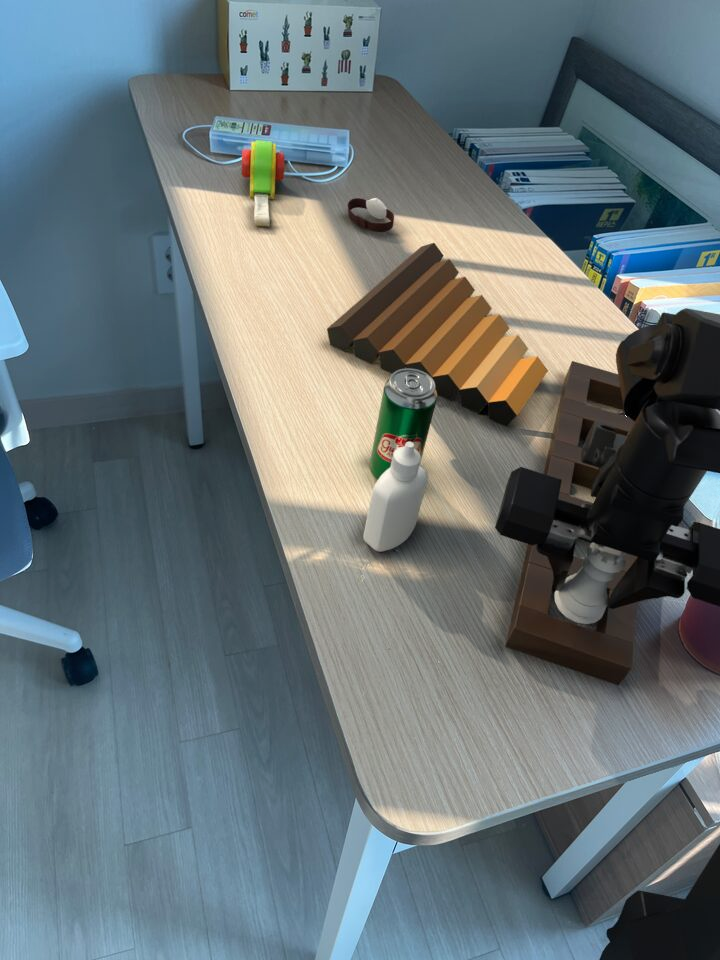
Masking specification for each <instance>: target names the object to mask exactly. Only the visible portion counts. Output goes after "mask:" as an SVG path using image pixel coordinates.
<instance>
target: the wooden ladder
mask: <svg viewBox="0 0 720 960" xmlns="http://www.w3.org/2000/svg"><path fill="white" fill-rule="evenodd" d="M568 367H569V368H568V369H567V372H566V375H565V377H564V380H563V384H562V388H561V393H560V396H559V397H560V398H559V402H558V407H557V411H556V415H555V420H554V425H553V429H552V434H551V438H550V443H549V448H548V451H547V456H546V461H545V466H544V470H543V474H546V475H549V476H552V477H555V478H558V479H562V481H561V486H560V491H559V497H558V499H559V500H562V501H566V502H569V503H572V504H575V505H578V506H582V504H583V503H587V504H590V505H592V504H593V502H592V501H588V500H585V499H581V498H579V497H577V496H572V495H570V493H571V487H572V485H575V486H579V487H582V488H585V489H588V490H591V491H592V485H593V483H594V481H595V480H596V478H597V476H598V474H599V472H600V470H599V468H598V467H595V466H592V465H588V464H585V463H582V461H581V451H582V448H583V447H579V443H580V440H583V441H585V440H586V437H587V435H588V433H589V431H590V429H591V427H592V425H593V423H594V422H598V423H601V424H605V425H608V426H611V427H614V428H615V433H616V434H621V435H625V436H628V435H629V433H630V431H631V429H632V427H633V425H634V423H635V421H633V420H632V419H630V417H628V416H627V417H626V416H625V412H624V407H623V401H622V395H621V389H620V383H619V377H618V373H616V372H612V371H609V370H606V369H605V370H604V369H602V368H598V367H595V366H592V365H588V364H584V363H580V362H577V361H574V360H572V361H571V362H570V365H569V366H568ZM587 401H591V402H594V403H598V404H601V405H604V406H608V407H611V408H615V409H618V410H622V414H619V413H615V412H612V411H609V410H606V409H602V408H598V407H596V406H595V407H594V406H592V405H589V404H587ZM576 540H580V541H582V542H586V543H589V544H591V543H592V542H590V541H591V540H588V539H584V538H581V537H578V538H577V539H576ZM536 545H537V544H536ZM536 545H529V544H527V547H526V551H525V555H524V560H523V564H522V569H521V573H520V576H519V577H520V578H519V583H518V587H517V591H516V596H515V601H514V604H513V609H512V613H511V618H510V624H509V626H508V632H507V637H506V641H505V648H508V649H511V650H514V651H517V652H519V653H522V654H526V655H529V656H532V657H534V658H538V659H540V660H543V661H546V662H549V663H552V664H555V665H558V666H560V667H564V668H566V669H569V670H572V671H575V672H578V673H581V674H584V675H586V676H588V677H593V678H595V679H597V680H601V681H604V682H607V683H610V684H613V685H616V686H620V685H621V683H622V682H623V681H624V680H625V679H626V677H627V676H628V674H629V673H630V672H631V670H632V669H633V660H634V647H635V636H636V625H637V611H638V602H636V603H632V604H629V605H625V606H622V607H618V608H615V609H611V608H608V604H607V607H606V609H605V611H604V613H603V616H602V618H601V619H599V620H598V621H596V625H595V626H596V627H595V630H594V629H591V628H587V627H585V626H582V625H580V624H579V625H578V624H577V623H574V622H573V623H572V622H570V621H567V620H564V619H561V618H558V617H555V616H552V615H549V608H550V602H551V596H552V593H555V591H556V590H555V589H554V578H553V570H552V568H551V565H550V562H549V560H548V557H547V556H545V555H542V554H540V553H539V552H538V551H537V549H536ZM637 558H638V557H636V556H633V555H630V554H627V553H626V555H625V559H626V565H625V567H624V569H622V570H621V571H619V572H616V576H615V578H614V579H612V580H611V581H609V583H608V586H607V588H606V591H607V600H608V602H609V598H610V596H611V594H612V592H613V590H614V588H615V586H616V585H617V584H618V582H619V581H620V580H621V578H622V577H623V576H624V575H625V573H626V572H627V571H628V569H629V568H630V567H631V565H632V564H633V563H634V561H635V560H636V559H637ZM583 560H584V558H582V557H579V556H576V555H574V557H573V562H572V565H571V567H570V570H569V572H568V575H567V577H569V576H570V575H574V574H575V573H578V571H579V570H580V569H581V568H582V567H583Z"/></svg>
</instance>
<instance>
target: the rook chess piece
mask: <svg viewBox="0 0 720 960" xmlns="http://www.w3.org/2000/svg"><path fill="white" fill-rule="evenodd" d="M585 551H586V552H585V553H586V556H585V557H584V558H583V559H584V560H583V567H582V568H581V569H580V570H579V571H578V573H575V574H574V575H570V576H569V577H567V578H566V580H565V583H564V585H563V587H562V588H561V589H560V590H559V591H557V590H556V591H555V592H554V602H555V604H556V607H557V609H558V611H559V612H560V614H562V615H563V616H564V617H565V618H566V619H567V620H570V621H572V622H573V623H575V624H582V625H589V624H594V623H597V621H598V620H599V619H601V618H602V616H603V613H604V611H605V609H606V607H607V604H608V600H607V591H606V588H607V586H608V583H609V581H611V580H612V579H614V578H615V576H616V572H619V571H621V570H622V569H624V567H625V565H626V559H625V555H626V553H624V552H621V551H618V550H615V549H612V548H609V547H605V546H602V545H599V544H596V543H593V542H592V543H589V544H588V545H587V547H586V549H585Z"/></svg>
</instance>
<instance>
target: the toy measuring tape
mask: <svg viewBox="0 0 720 960" xmlns="http://www.w3.org/2000/svg"><path fill="white" fill-rule="evenodd" d="M250 144H251V145H250V148H244V149H242V151H241V176H242V177H243V178H249V197H250V198H253V199H254V210H253V212H254V213H253V216H254V217H253V218H254V225H255V226H256V227H268V228H269V227H270V222H271V221H270V212H269V211H270V210H269V208H270V207H269V200H274V199H275V198H276V197H275V196H276V195H275V194H276V181H278V182H281V181H283V180H284V177H285V162H286V161H285V154H284V153H283V152H280V151H277V144H276V143H274V142H272V140H271V141H270V140H262V139H261V140H259V139H255V141H251V143H250Z"/></svg>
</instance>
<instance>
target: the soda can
mask: <svg viewBox="0 0 720 960" xmlns="http://www.w3.org/2000/svg"><path fill="white" fill-rule="evenodd" d="M437 400H438V395H437V391H436V389H435V382H434V380H433V379H432V378H431V377H430V376H429V375H428V374H426V373H425V372H423V371H420V370H417V369H410V368H406V369H405V368H404V369H400V370H397V371H395V372H394V373H393V374H390V377H389V379H387V381H385V383H384V385H383V391H382V396H381V402H380V407H379V412H378V417H377V423H376V428H375V433H374V439H373V444H372V449H371V455H370V459H369V471H370V473H371V475H372V476H373V477H374V479H376V481H378V479H379V478H380V476H381V475H382V474H383V473H384V472H385V471H386V470H387V469H389V468H390V467H391V462H392V458H393V453H394V451H395V450H396V449H397V448H399V447H404V446H405V444H406V443H407V442H412V443H413V444H414V449H415V450H417V451H418V452H419V454H420V456H421V461H420V464H421V462H422V458H423V455H424V451H425V447H426V443H427V439H428V435H429V431H430V427H431V423H432V419H433V416H434V412H435V408H436V404H437Z"/></svg>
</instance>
